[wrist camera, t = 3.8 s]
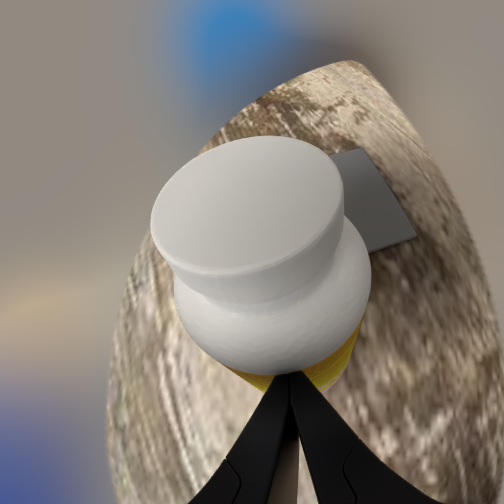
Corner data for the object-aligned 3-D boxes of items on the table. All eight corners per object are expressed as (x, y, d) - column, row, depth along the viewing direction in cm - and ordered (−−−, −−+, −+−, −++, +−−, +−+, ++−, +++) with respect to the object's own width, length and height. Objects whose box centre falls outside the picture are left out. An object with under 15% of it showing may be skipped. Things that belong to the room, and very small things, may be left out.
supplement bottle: (371, 348, 15) (443, 181, 5) (289, 423, 14) (195, 412, 4) (300, 283, 19) (261, 103, 9) (224, 345, 18) (95, 207, 7)
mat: (415, 237, 18) (417, 234, 18) (250, 289, 19) (248, 287, 19) (361, 150, 23) (362, 147, 23) (227, 187, 24) (226, 184, 24)
